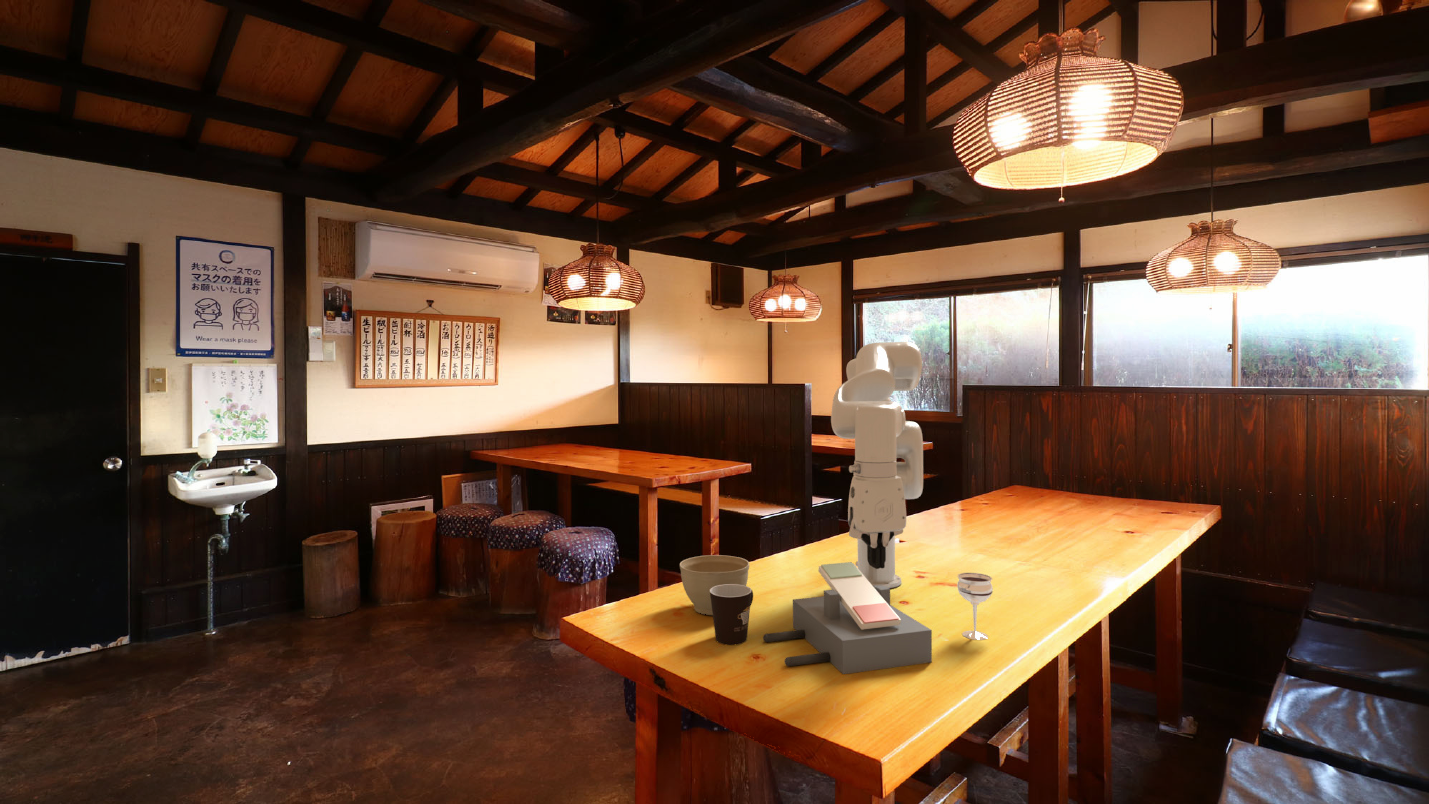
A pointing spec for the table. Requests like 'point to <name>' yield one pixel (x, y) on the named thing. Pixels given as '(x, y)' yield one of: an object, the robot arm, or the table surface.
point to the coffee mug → (731, 612)
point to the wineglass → (975, 596)
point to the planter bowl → (711, 577)
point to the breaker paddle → (859, 596)
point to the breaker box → (854, 636)
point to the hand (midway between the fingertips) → (876, 566)
